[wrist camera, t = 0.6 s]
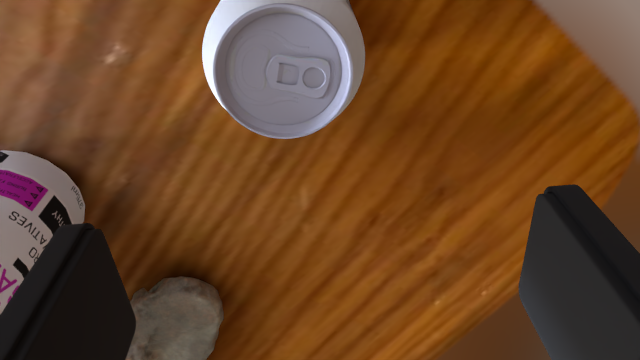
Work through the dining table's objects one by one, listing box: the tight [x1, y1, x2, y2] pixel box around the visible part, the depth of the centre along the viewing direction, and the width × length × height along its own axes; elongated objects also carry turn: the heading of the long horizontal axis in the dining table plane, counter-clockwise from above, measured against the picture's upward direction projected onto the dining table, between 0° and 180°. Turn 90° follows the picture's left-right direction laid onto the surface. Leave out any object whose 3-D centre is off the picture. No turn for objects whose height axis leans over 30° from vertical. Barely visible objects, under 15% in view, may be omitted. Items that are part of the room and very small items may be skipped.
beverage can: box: [202, 0, 365, 139], centre depth 25 cm, size 7×7×12 cm
